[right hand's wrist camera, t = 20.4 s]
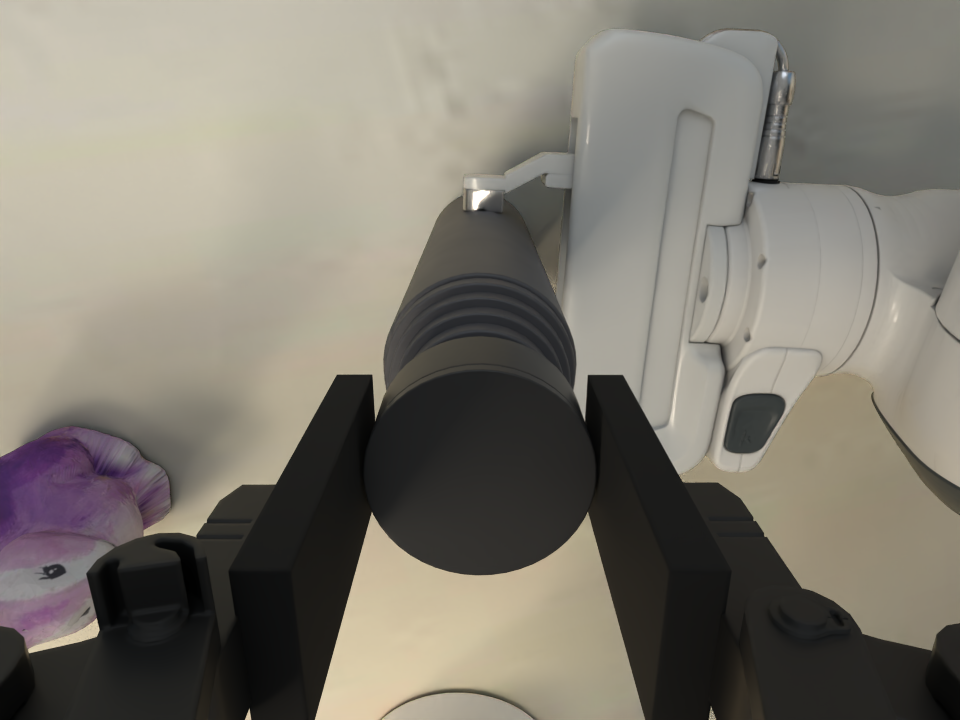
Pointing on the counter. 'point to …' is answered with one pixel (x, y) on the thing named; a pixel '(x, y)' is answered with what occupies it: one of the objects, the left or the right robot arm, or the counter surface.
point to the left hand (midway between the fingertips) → (460, 267)
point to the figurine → (68, 524)
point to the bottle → (480, 291)
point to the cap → (479, 458)
